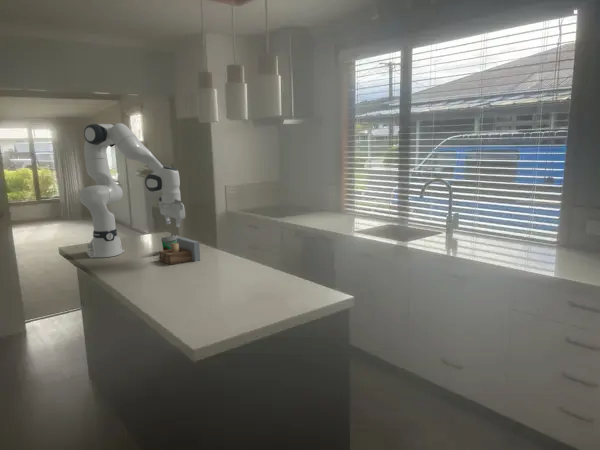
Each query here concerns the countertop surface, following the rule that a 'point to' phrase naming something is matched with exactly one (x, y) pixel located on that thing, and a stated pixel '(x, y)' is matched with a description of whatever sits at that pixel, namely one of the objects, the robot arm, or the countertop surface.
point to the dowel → (174, 247)
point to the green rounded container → (169, 241)
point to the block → (175, 256)
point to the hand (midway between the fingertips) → (173, 225)
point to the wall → (190, 247)
